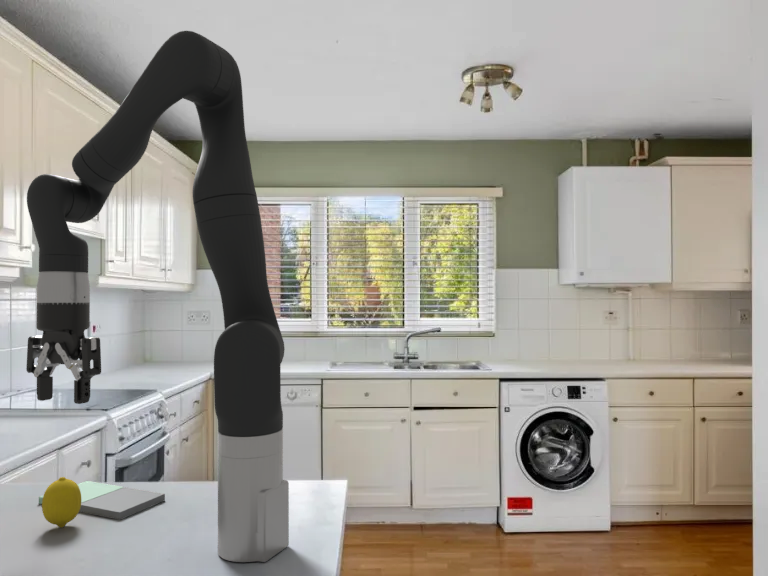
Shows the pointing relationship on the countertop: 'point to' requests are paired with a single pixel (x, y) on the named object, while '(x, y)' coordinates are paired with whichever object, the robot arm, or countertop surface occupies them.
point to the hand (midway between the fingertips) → (62, 401)
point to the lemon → (61, 502)
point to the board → (114, 499)
